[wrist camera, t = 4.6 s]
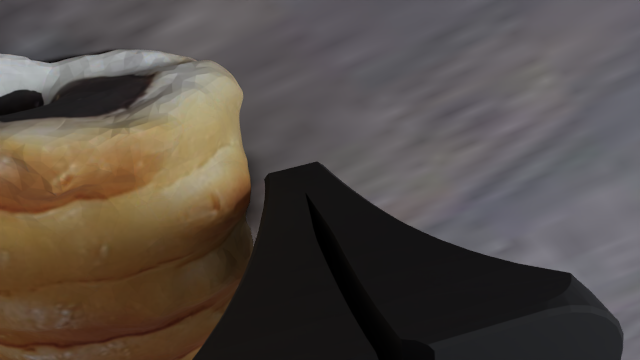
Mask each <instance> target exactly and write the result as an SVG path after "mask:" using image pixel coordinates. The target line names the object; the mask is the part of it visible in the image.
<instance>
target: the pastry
mask: <svg viewBox="0 0 640 360" xmlns="http://www.w3.org/2000/svg"><path fill="white" fill-rule="evenodd" d="M242 100H243V92H242V90H241V88H240V86H239V85H238V83H237V81H236V80H235V78H234V77H233V75H232V74H231V73H229V72H228V71H227V70H226V69H225V68H223V67H222V66H220V65H219V64H217V63H215V62H213V61H211V60H201V61H196V60H195V59H192V58H190V57H184V56H179V55H173V54H169V53H165V52H161V51H153V50H123V49H118V50H114V51H111V52H107V53H103V54H99V55H83V56H78V57H74V58H70V59H65V60H62V61H59V62H55V63H45V62H40V61H35V60H30V59H28V58H27V57H22V56H16V55H10V54H0V360H192V359H193V358H194V356H195V355H196V354H197V352H198V351H199V350H200V348H201V347H202V345H203V344H204V342H205V341H206V339H207V338H208V337H209V335H210V334H211V332H212V331H213V329H214V328H215V326H216V325H217V323H218V322H219V320H220V319H221V317H222V315H223V314H224V312H225V310H226V308H227V307H228V305H229V303H230V301H231V299H232V297H233V295H234V293H235V291H236V289H237V287H238V285H239V283H240V281H241V279H242V277H243V274H244V272H245V270H246V267H247V265H248V262H249V259H250V257H251V254H252V251H253V240H252V235H251V230H250V227H249V226H248V224H247V222H246V210H247V208H248V205H249V203H250V194H251V183H250V175H249V171H248V162H247V158H246V155H245V152H244V149H243V146H242V139H241V133H240V125H239V111H240V108H241V104H242Z"/></svg>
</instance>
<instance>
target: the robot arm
mask: <svg viewBox="0 0 640 360" xmlns="http://www.w3.org/2000/svg"><path fill="white" fill-rule="evenodd" d="M264 181H265V200H264V208H263V213H262V218H261V222H260V227H259V231H258V234H257V238H256V241H255V244H254V247H253V251H252V254H251V257H250V259H249V262H248V265H247V267H246V270H245V272H244V274H243V277H242V279H241V281H240V283H239V285H238V288H237V289H236V291H235V293H234V295H233V297H232V299H231V301H230V303H229V305H228V307H227V308H226V310H225V312H224V314H223V315H222V317H221V319H220V320H219V322H218V323H217V325H216V326H215V328H214V329H213V331H212V332H211V334H210V335H209V337H208V338H207V339H206V341H205V342H204V344H203V345H202V347H201V348H200V350H199V351H198V352H197V354H196V355H195V356H194V358H193V359H192V360H621V355H622V351H623V331H622V329H621V326H620V324H619V321H618V320H617V319H616V318H615V317H614V316H613V315H612V314H611V313H610V311H609V310H608V309H607V308H606V307H605V306H604V305H603V304H602V303H601V302H600V301H599V300H598V299H597V298H596V296H595V295H594V294H593V293H592V292H591V291H590V290H588V289H587V288H586V287H585V286H584V285H583V284H582V283H581V282H579V281H578V280H577V279H576V278H575V277H574V276H573V275H572V274H571V273H567V272H562V271H556V270H550V269H545V268H539V267H534V266H528V265H523V264H518V263H514V262H510V261H506V260H502V259H498V258H494V257H490V256H487V255H483V254H480V253H477V252H474V251H470V250H467V249H464V248H462V247H459V246H456V245H453V244H451V243H448V242H445V241H442V240H440V239H438V238H435V237H433V236H430V235H428V234H426V233H424V232H422V231H420V230H417V229H415V228H413V227H411V226H409V225H407V224H405V223H403V222H401V221H399V220H398V219H396V218H394V217H393V216H391V215H389V214H388V213H386V212H384V211H383V210H381V209H380V208H378V207H376V206H375V205H373V204H372V203H370V202H369V201H368V200H366V199H365V198H363V197H362V196H361V195H359V194H358V193H356V192H355V191H354V190H352V189H351V188H350V187H348V186H347V185H346V184H345V183H343V182H342V181H341V180H340V179H338V178H337V177H336V176H335V175H334V174H332V173H331V172H330V171H329V170H328V169H327V168H326V167H324V166H323V165H322V164H320V163H319V162H313V163H309V164H305V165H301V166H297V167H293V168H289V169H285V170H281V171H277V172H273V173H269V174H268V175H267V176H266V178H265V179H264Z"/></svg>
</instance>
